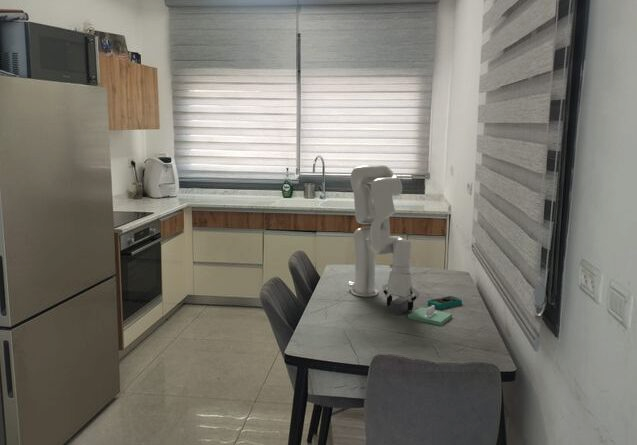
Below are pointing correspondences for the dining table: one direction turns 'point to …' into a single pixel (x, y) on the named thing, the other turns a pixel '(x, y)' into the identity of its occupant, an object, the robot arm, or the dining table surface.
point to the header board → (430, 315)
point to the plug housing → (399, 305)
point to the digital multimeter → (445, 302)
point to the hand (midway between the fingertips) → (399, 308)
